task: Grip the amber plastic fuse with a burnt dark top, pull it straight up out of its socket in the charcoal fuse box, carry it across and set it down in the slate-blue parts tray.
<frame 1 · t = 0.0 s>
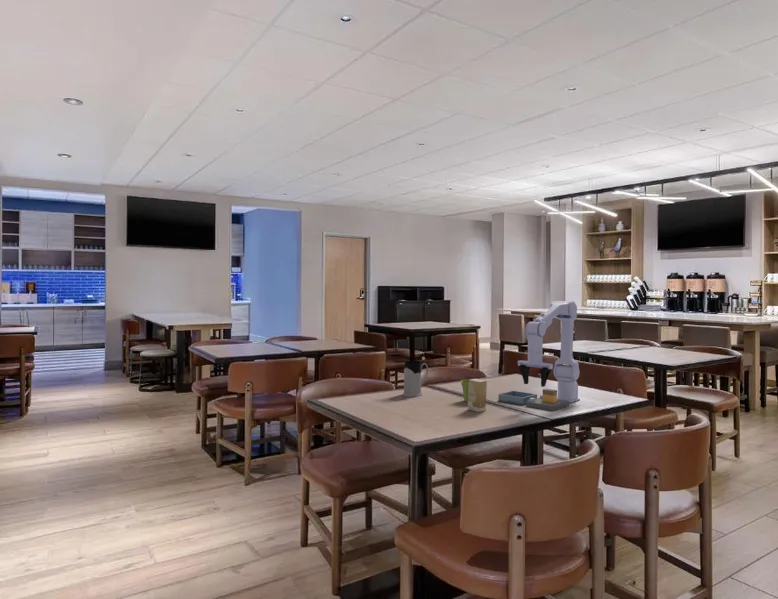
hand: (534, 385, 220), 10 cm above the table, fingers open, 7 cm apart
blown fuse: (549, 406, 228), resting in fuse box
parts tray: (517, 401, 238), on the table
plant pot: (471, 401, 237), on the table
skincare box: (476, 410, 219), on the table
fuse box: (547, 406, 228), on the table
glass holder: (416, 394, 252), on the table
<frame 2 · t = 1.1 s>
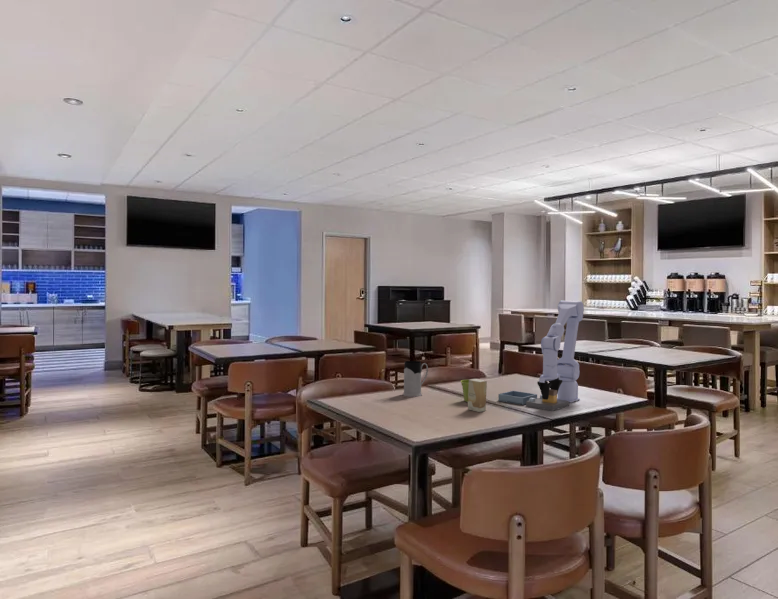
hand: (549, 397, 228), 4 cm above the table, fingers open, 7 cm apart
nothing on the table moved.
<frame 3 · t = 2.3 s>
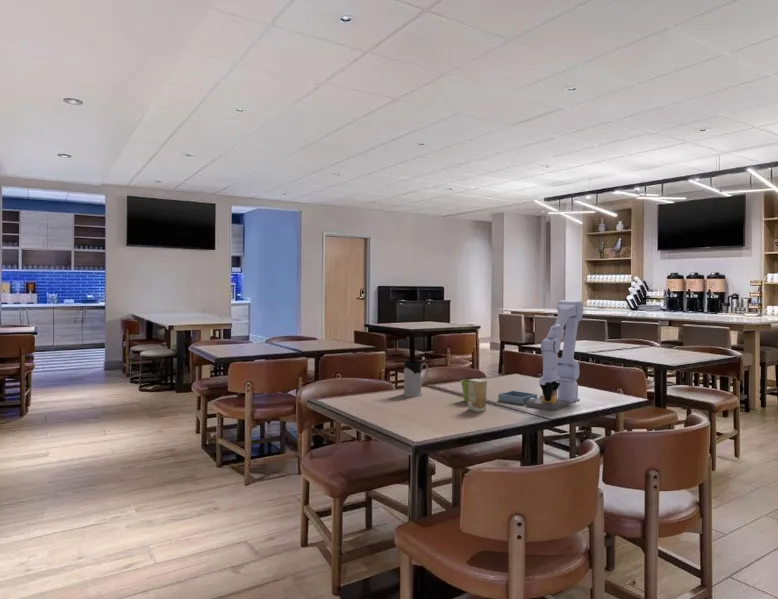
hand: (549, 400, 228), 3 cm above the table, fingers closed on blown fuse, 3 cm apart
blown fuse: (549, 406, 228), resting in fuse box, touching gripper
everything else where it was.
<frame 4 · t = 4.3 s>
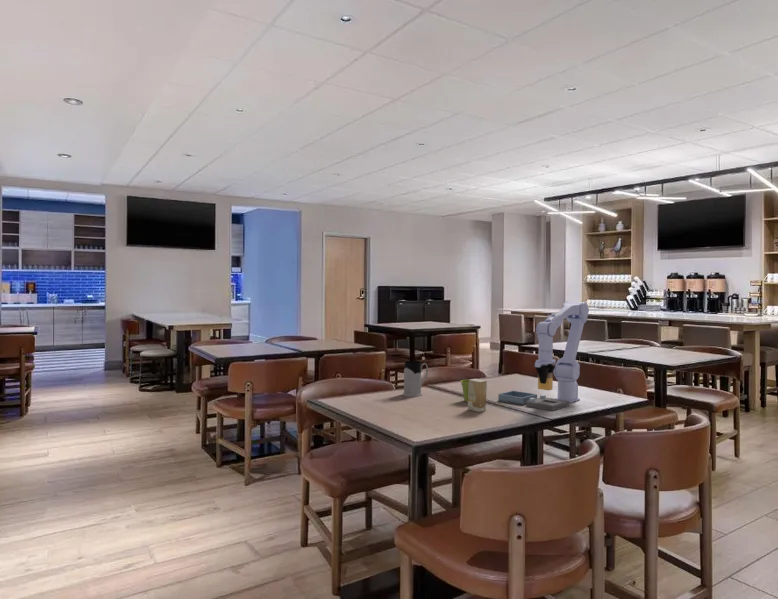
hand: (545, 382, 229), 10 cm above the table, fingers closed on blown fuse, 3 cm apart
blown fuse: (545, 389, 229), point 7 cm above the table, touching gripper
everything else where it was.
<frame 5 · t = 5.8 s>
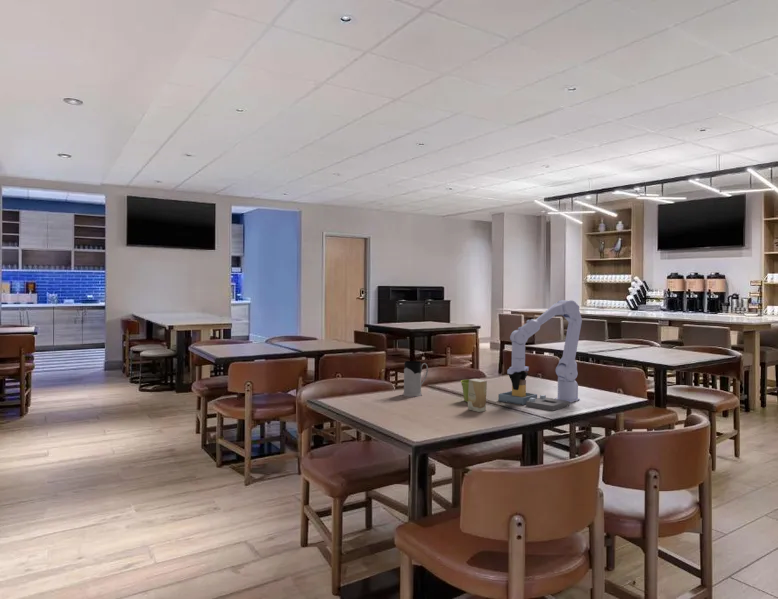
hand: (517, 389, 238), 5 cm above the table, fingers closed on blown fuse, 3 cm apart
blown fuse: (518, 395, 238), point 2 cm above the table, touching gripper
everything else where it was.
when the fingers open (5 cm above the table, at t = 6.6 s): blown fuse drops 1 cm, resting on parts tray.
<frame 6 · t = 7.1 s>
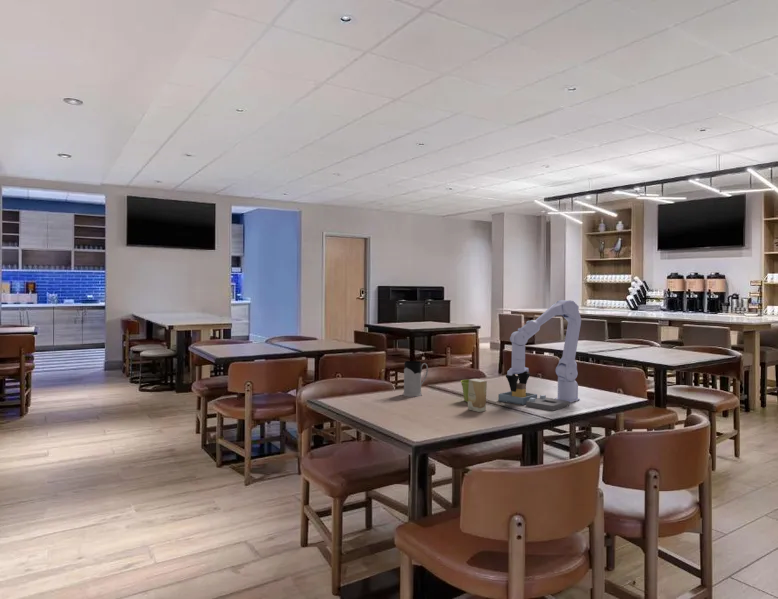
hand: (517, 390, 238), 5 cm above the table, fingers open, 7 cm apart
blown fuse: (518, 399, 238), point 1 cm above the table, touching parts tray
everything else where it was.
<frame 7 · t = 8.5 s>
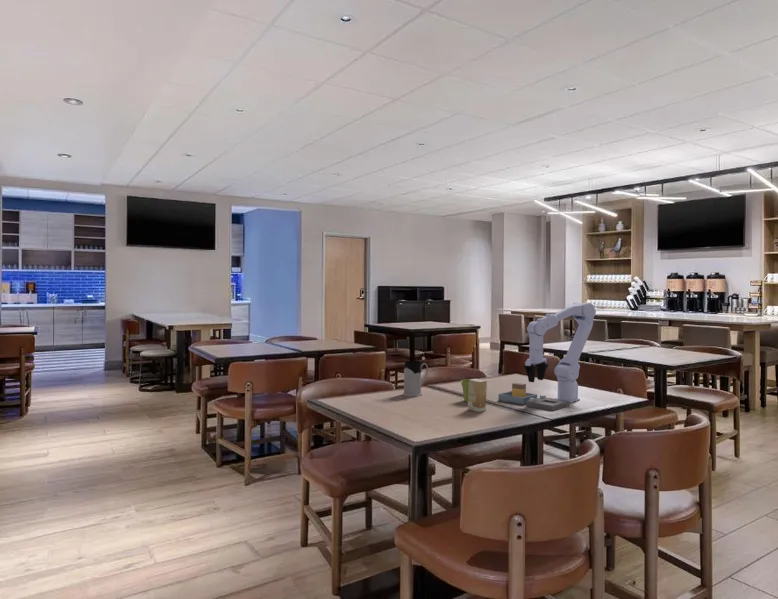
hand: (535, 380, 235), 9 cm above the table, fingers open, 7 cm apart
nothing on the table moved.
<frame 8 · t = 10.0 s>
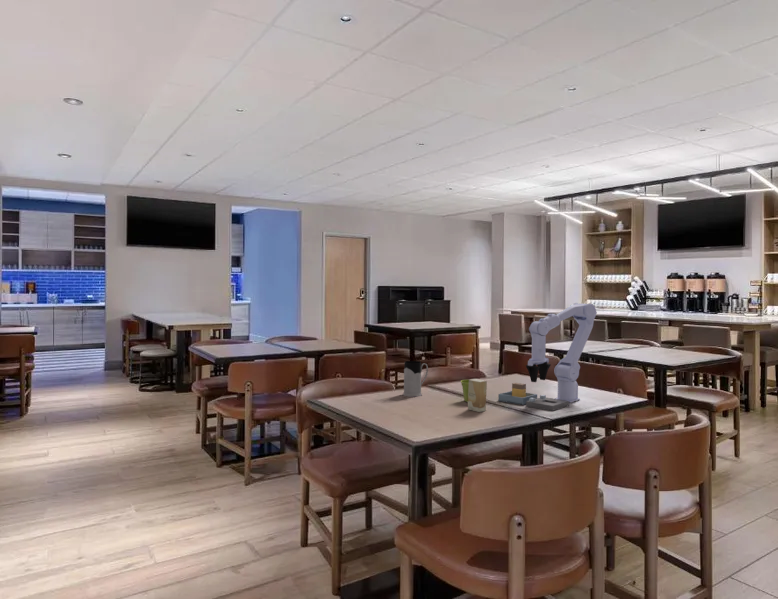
hand: (538, 381, 235), 9 cm above the table, fingers open, 7 cm apart
nothing on the table moved.
at the end: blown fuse inside the target area on the parts tray (0.5 cm from its centre), point 0.6 cm above the parts tray's base; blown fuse moved 14.5 cm from its start; the gripper is holding nothing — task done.
